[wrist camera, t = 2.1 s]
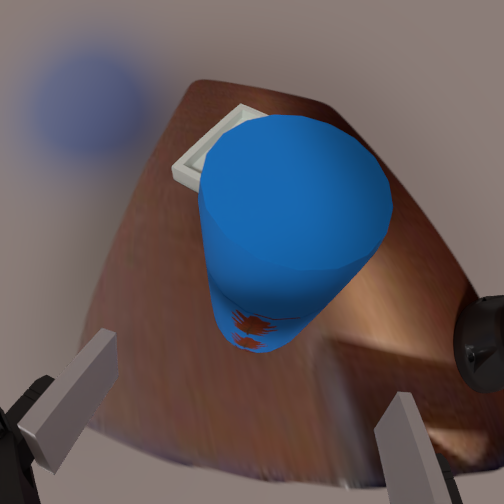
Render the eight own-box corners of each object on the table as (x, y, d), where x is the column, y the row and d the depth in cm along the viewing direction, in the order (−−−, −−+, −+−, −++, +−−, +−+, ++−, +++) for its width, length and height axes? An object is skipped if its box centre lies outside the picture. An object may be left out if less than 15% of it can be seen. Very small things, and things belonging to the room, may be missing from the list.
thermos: (201, 338, 37) (161, 235, 14) (228, 260, 41) (233, 97, 19) (290, 364, 36) (390, 301, 14) (310, 283, 41) (395, 144, 18)
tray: (330, 160, 51) (335, 147, 48) (278, 238, 43) (281, 227, 41) (239, 116, 54) (240, 103, 51) (173, 179, 47) (171, 166, 44)
